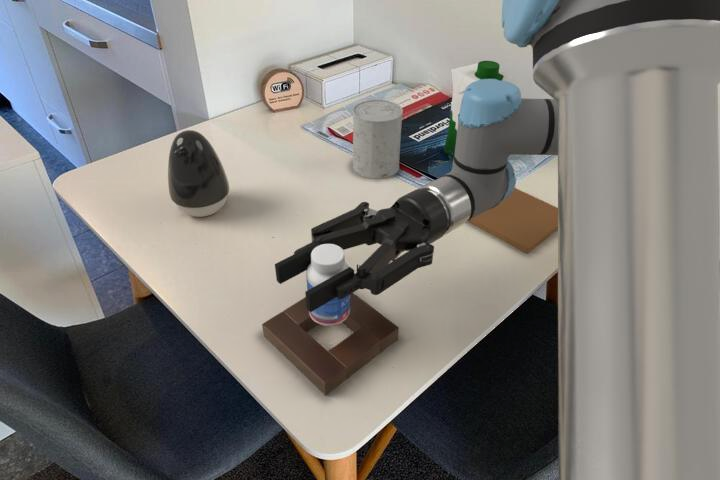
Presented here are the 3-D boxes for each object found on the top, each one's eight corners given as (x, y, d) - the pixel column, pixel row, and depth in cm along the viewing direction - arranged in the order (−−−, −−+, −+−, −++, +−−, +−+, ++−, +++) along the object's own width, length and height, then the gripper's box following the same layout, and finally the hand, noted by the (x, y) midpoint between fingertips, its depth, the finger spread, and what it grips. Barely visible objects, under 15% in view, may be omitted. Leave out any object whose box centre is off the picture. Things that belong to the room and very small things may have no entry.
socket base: (325, 396, 64) (324, 383, 62) (263, 336, 71) (261, 323, 70) (398, 339, 71) (399, 327, 69) (335, 290, 78) (334, 278, 77)
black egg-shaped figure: (165, 223, 91) (143, 145, 82) (187, 190, 99) (169, 116, 90) (221, 227, 90) (206, 149, 81) (239, 194, 98) (227, 119, 89)
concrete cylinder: (394, 181, 102) (398, 124, 95) (347, 175, 104) (347, 118, 96) (402, 157, 110) (406, 102, 102) (358, 152, 111) (359, 97, 104)
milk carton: (464, 169, 106) (479, 73, 94) (437, 150, 112) (447, 57, 100) (496, 158, 110) (515, 64, 97) (468, 140, 116) (482, 49, 103)
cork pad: (527, 253, 86) (528, 249, 85) (468, 221, 92) (469, 217, 92) (570, 219, 93) (572, 214, 92) (513, 191, 100) (514, 187, 99)
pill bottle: (349, 328, 66) (349, 270, 60) (306, 327, 66) (302, 269, 60) (351, 297, 70) (351, 240, 64) (310, 296, 70) (307, 239, 64)
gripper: (478, 266, 69) (343, 356, 57) (383, 206, 80) (253, 271, 68) (487, 221, 65) (342, 309, 53) (385, 163, 76) (246, 225, 64)
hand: (292, 287), depth 60 cm, fingers closed on pill bottle, 5 cm apart
